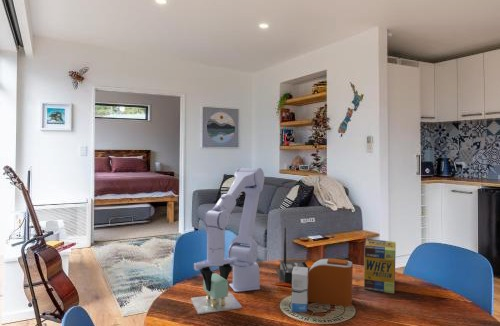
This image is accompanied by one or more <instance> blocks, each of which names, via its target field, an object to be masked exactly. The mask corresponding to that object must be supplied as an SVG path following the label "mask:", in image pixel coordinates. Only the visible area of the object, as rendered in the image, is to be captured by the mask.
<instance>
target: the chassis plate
mask: <svg viewBox="0 0 500 326" xmlns="http://www.w3.org/2000/svg"><path fill="white" fill-rule="evenodd" d="M212 299H213V297H211V296H210V299H207V295H203V296H196V297H195V296H194V297H190V301H191V302H192V305H193V307H194V309H195V311H196V313H197V314H198V315H203V314H210V313H211V314H212V313H216V312H217V313H218V312H223V311H231V310H232V311H233V310H238V309H242V308H243V305H241V303H240V302H239V301H238V299H237V298H236V297H235V296H234V295H233V294H232V293H231V292H228V297H225V306H221V298H218V299H216V307H212Z"/></svg>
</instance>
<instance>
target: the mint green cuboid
mask: <svg viewBox="0 0 500 326" xmlns="http://www.w3.org/2000/svg"><path fill="white" fill-rule="evenodd" d="M202 278H203V277H202ZM202 281H203V282H202V284H203V285H202V286H203V288H202V290H203V291H204V293H206V294H207V293H208V294H209V295H210V296H211V297H213V298H214V299H218V298H223V297H228V293H229V281H228V279H227V280H226V279H224V278H223V277H221V276H220V274H218V273H217V272H215V273H214V272H213V273H212V278H211V290H210V291H208V290H206V284H205V281H204V278H203V279H202Z"/></svg>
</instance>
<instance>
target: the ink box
mask: <svg viewBox="0 0 500 326" xmlns="http://www.w3.org/2000/svg"><path fill="white" fill-rule="evenodd" d="M308 268H309V267H308ZM308 268H306V267H296V266H295V267H294V268H293V271H292V282H291V311H292V312H295V313H296V312H298V313H308V304H309V302H308Z"/></svg>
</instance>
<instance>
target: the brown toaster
mask: <svg viewBox="0 0 500 326" xmlns="http://www.w3.org/2000/svg"><path fill="white" fill-rule="evenodd" d="M309 269H310V270H309V272H308V303H309V302H310V303H316V304H322V305H323V304H324V305H330V306H339V307H345V308H346V307H351V305H352V303H353V262H352V261H350V260H348V259H340V258H339V259H338V258H321V259H318V260H317V261H315V262H314V263H313V264H312V265H311V267H310V268H309Z"/></svg>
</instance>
